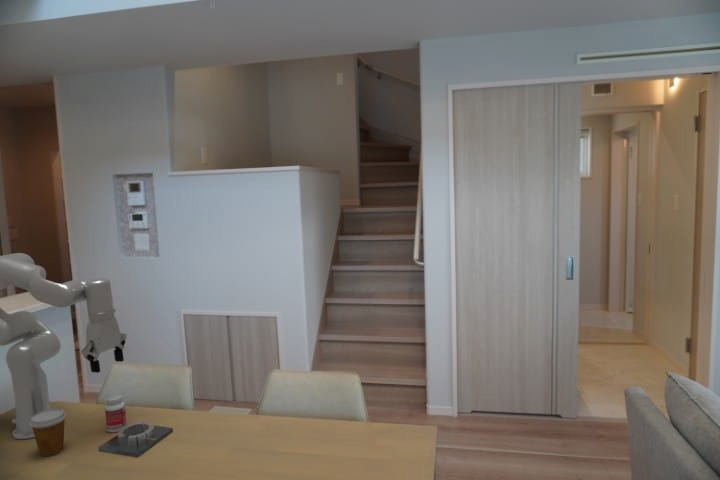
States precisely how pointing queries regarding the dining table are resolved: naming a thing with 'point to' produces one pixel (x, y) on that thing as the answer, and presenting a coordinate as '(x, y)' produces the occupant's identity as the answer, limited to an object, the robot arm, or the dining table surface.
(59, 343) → the robot arm
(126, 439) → the socket plate
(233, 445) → the dining table surface
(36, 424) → the disposable coffee cup
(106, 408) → the pill bottle
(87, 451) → the dining table surface
